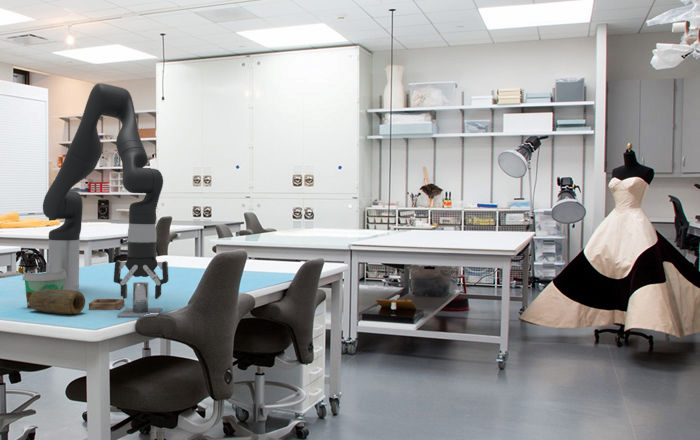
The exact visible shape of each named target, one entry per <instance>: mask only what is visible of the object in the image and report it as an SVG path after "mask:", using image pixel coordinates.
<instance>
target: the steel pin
mask: <svg viewBox="0 0 700 440" xmlns="http://www.w3.org/2000/svg"><path fill="white" fill-rule="evenodd" d="M132 308H133V312H134V313H145V312H148V308H149V282H146V281H136V282H133V283H132Z"/></svg>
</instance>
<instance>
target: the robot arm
mask: <svg viewBox="0 0 700 440" xmlns="http://www.w3.org/2000/svg"><path fill="white" fill-rule="evenodd" d="M102 116H105V117H110V118H116V119H119V121H120V122H121V128H120V130H119V132H118V134H117V137H116V139H115V140H116V143H115V144H116V150H117V152H118V155H119V158H120V161H121V164H122V166H121V167H122V185H123V187H124V189H125V190H126V191H127V192H129V193H131V194H145V196H144V197H143V199H142V200H139V201H136V202H133V203H131V204H129V208H128V228H127V255H126V257H127V258H126V261H125V260H124V261H121V260H120V259H119V260H116V261H114V271H113V283H115V284H119V285H120V297H122V299H124V300H125V299H127V298H128V284H127V283H128V282H129V281H130V279H131V278H132V277H135V278H140V277H143V278H148V277H149V278H150V279H151V280H152V281H153V282H154V284H155V287H154V299H155V300H159V298H160V297H161V296H162V285H164V284H167V283H168V282H169V263H168V261H167V260H164V261H157V260H158V259H157V238H158V236H157V226H156V225H157V224H156V221H157V219H156V218H157V207H158V203H159V200H160V196H161V192H162V189H163V185H164V176H163V175H162V173H161V171H160V170H159V169H157V168H149V167H146V165H147V164H148V161H149V157H148V155H147V152H146V149H145V146H144V145H143V142H142V140H141V136H140V134H139V128H138V122H137V118H136V117H137V116H136V111H135V107H134V101H133V97H132V95H131V93H130V92H129V90H127V88H124V87H121V86H117V85H112V84H106V83H102V82H101V83H100V82H99V83H96V84H95V85H94V86H93V87H92V89H91V91H90V93H89V96H88V98H87V101H86V104H85V107H84V110H83V113H82V117H81V119H80V121H79V125H78V128H77V129H76V132H75V134H74V137H73V139H72V140H71V143H70V145H69V147H68V150H67V152H66V154H65V157H64V159H63V161H62V164H61V166H60V169H59V171H58V173H57V175H56V176H55V178H54V180H53V182H52V183H51V185H50V187H49V188H48V190H47V192H46V194H45V196H44V198H43V202H42V212H43V215H44V216H45V217H46V218H48V219H54V220H64V222H63V223H62V224H61V225H60V226H59V227H56V228H54V229H52V230H50V231H49V232H48V255H47V256H48V257H47V258H48V259H47V260H48V262H47V263H46V264H45V273H57V272H61V269H62V270H65V272H66V276H67V278H65V279H64V285H63V290H73V291H77V292H79V290H80V239H81V237H80V236H81V232H82V231H81V230H82V218H83V199H82V198H83V197H82V195H81V194H80V193H79V192H78V191H73V190H71V189H72V188H73V187H74V186H76V184H78V183H80V182H82V181H83V180H85V178H87V177H88V176H89V175H91V173H92V172H94V170H95V169H96V167H97V165H98V163H99V161H100V159H101V157H102V154H103V153H102V152H103V147H102V143H101V139H100V136H99V131H98V123H99V120H100V118H101V117H102ZM124 266H125V267H126V268H127V270H128V272H127V273H126V274H125V276H124V277H123V278H121V273H122V269H124ZM157 267H159V269H160V270H161V271H162V279H160V277H159V275H158V273H156V271H155V270H156V268H157Z"/></svg>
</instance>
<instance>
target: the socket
mask: <svg viewBox="0 0 700 440" xmlns="http://www.w3.org/2000/svg"><path fill="white" fill-rule="evenodd" d="M124 306H125V299H123V298H95V299H93V300H92V301H90V302H88V310H89V311H91V310H92V311H94V310H95V311H97V310H98V311H99V310H100V311H102V310H103V311H106V310H108V311H115V310H116V311H119V310H120V309H121V308H123V307H124Z"/></svg>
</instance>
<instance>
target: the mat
mask: <svg viewBox="0 0 700 440" xmlns="http://www.w3.org/2000/svg"><path fill="white" fill-rule="evenodd" d="M162 311H163V307H148V312H145V313H134V312H133V307H126V308H124V309H123V310H122V311H121V312H120V313H119V314H117V315H116V318H142V317H141V316H144V315H146V314H150V313H159V314H160V313H161V312H162Z"/></svg>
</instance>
